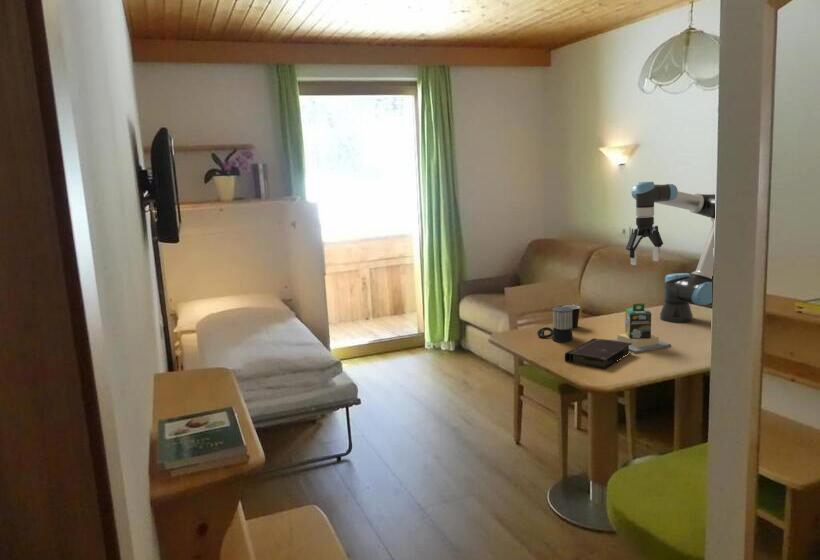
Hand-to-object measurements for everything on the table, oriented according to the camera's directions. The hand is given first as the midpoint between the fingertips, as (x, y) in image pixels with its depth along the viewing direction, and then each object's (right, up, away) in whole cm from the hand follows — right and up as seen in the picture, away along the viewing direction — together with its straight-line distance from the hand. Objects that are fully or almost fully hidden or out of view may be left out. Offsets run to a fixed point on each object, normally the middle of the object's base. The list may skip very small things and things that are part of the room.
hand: (644, 262), depth 278 cm
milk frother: (-40, -35, +4) cm, 54 cm away
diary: (-29, -41, -26) cm, 56 cm away
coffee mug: (-28, -31, +24) cm, 48 cm away
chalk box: (-8, -32, -12) cm, 35 cm away
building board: (-7, -36, -11) cm, 38 cm away
